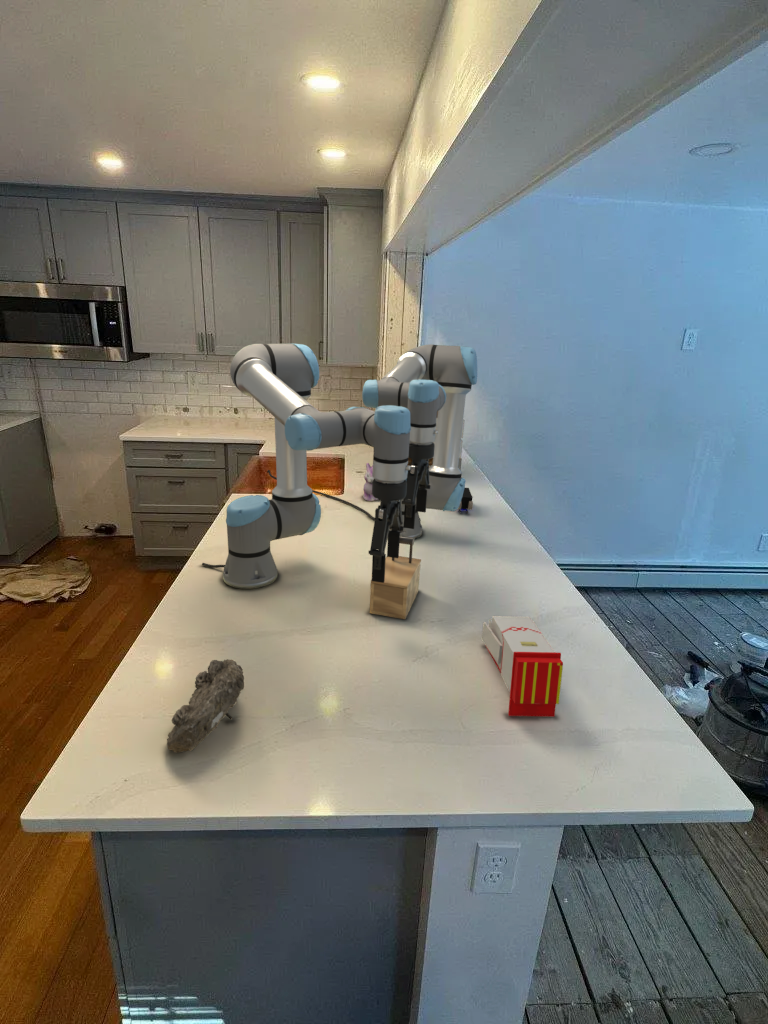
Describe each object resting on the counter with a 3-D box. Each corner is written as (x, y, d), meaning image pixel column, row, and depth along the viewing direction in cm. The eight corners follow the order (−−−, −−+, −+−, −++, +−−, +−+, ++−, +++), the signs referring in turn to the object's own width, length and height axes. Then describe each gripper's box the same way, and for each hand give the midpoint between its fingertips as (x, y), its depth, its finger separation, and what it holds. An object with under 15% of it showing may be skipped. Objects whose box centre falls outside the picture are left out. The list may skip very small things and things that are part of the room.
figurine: (367, 502, 230) (368, 467, 225) (357, 495, 238) (358, 460, 233) (388, 500, 234) (389, 465, 229) (377, 492, 242) (378, 458, 237)
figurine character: (473, 518, 221) (467, 502, 235) (475, 501, 218) (469, 485, 231) (455, 518, 221) (451, 501, 234) (457, 500, 218) (453, 485, 231)
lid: (387, 556, 160) (389, 529, 157) (421, 561, 158) (423, 534, 155) (370, 583, 144) (371, 553, 142) (407, 588, 142) (409, 558, 139)
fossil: (192, 660, 117) (244, 628, 112) (224, 691, 120) (276, 661, 115) (142, 746, 98) (202, 712, 93) (182, 779, 101) (242, 748, 96)
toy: (528, 601, 136) (572, 659, 107) (523, 653, 139) (565, 722, 110) (478, 600, 136) (508, 657, 107) (474, 652, 139) (503, 722, 109)
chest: (385, 585, 162) (387, 558, 159) (418, 591, 160) (420, 563, 157) (369, 613, 147) (370, 583, 144) (405, 619, 145) (407, 589, 142)
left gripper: (393, 498, 110) (388, 595, 117) (418, 466, 133) (413, 550, 140) (356, 493, 112) (353, 590, 119) (387, 463, 134) (383, 546, 142)
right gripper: (423, 454, 133) (417, 537, 140) (443, 434, 156) (437, 507, 163) (392, 450, 135) (388, 533, 142) (417, 431, 158) (412, 503, 165)
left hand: (385, 568), depth 129 cm, fingers open, 13 cm apart
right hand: (415, 519), depth 152 cm, fingers open, 13 cm apart
